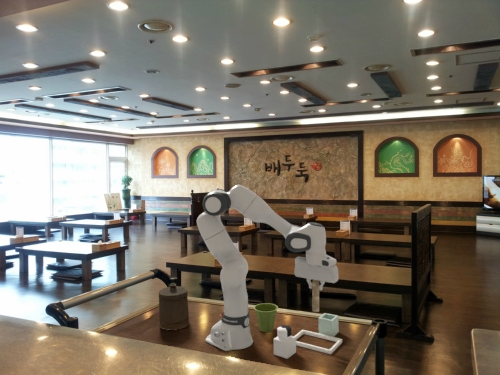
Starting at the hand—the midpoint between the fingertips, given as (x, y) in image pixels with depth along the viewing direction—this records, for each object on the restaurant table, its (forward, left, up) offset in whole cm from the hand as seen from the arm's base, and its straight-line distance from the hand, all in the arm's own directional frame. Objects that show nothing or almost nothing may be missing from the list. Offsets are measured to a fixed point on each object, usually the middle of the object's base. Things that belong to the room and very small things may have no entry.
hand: (315, 289), depth 186 cm
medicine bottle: (-8, -16, -26) cm, 31 cm away
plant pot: (-28, +1, -26) cm, 38 cm away
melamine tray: (0, -2, -25) cm, 25 cm away
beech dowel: (0, 0, -10) cm, 10 cm away
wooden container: (-72, -18, -26) cm, 78 cm away
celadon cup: (+1, +10, -25) cm, 27 cm away
